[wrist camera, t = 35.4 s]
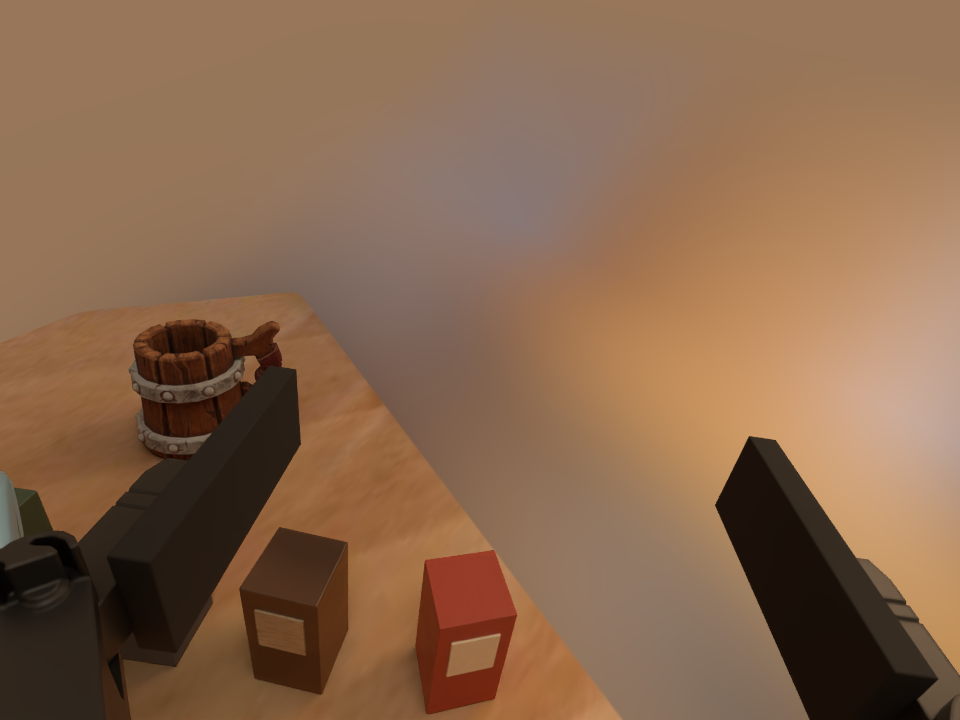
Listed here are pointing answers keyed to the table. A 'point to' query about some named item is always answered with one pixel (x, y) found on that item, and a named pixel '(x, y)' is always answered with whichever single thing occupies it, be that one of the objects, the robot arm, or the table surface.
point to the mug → (193, 380)
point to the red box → (463, 629)
